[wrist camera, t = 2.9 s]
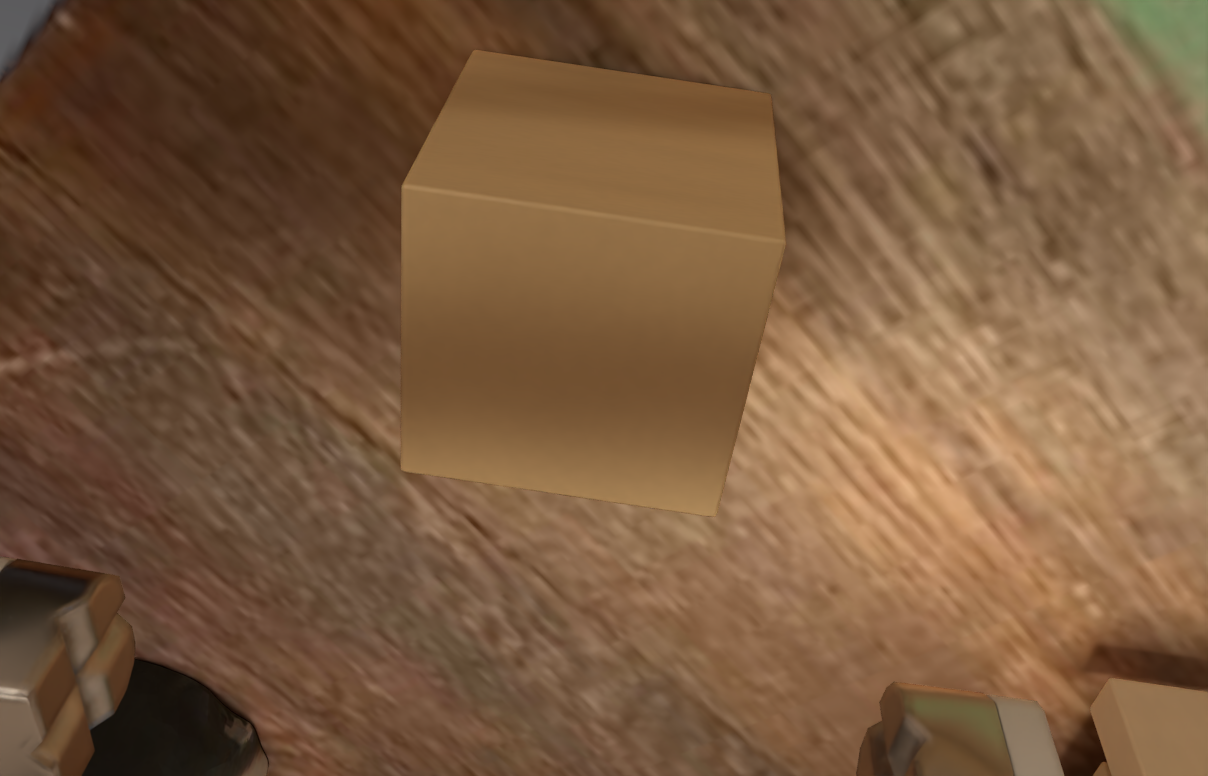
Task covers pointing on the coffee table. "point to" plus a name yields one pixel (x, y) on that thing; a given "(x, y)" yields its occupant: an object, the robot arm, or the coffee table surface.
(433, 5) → the coffee table surface
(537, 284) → the block
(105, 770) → the figurine
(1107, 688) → the drawer
